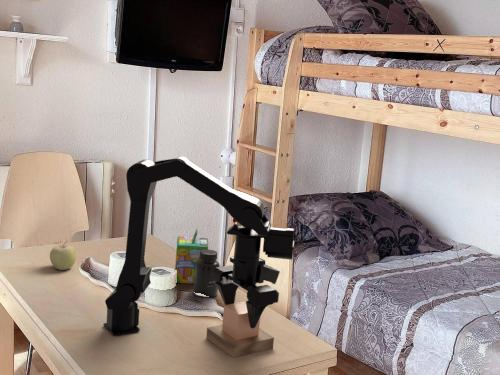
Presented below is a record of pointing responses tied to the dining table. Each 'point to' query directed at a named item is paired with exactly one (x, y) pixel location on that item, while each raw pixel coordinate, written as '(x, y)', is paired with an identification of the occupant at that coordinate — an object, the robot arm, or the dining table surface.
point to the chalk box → (188, 256)
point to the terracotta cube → (238, 321)
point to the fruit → (63, 257)
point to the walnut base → (239, 342)
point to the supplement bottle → (205, 273)
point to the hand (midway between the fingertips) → (241, 320)
